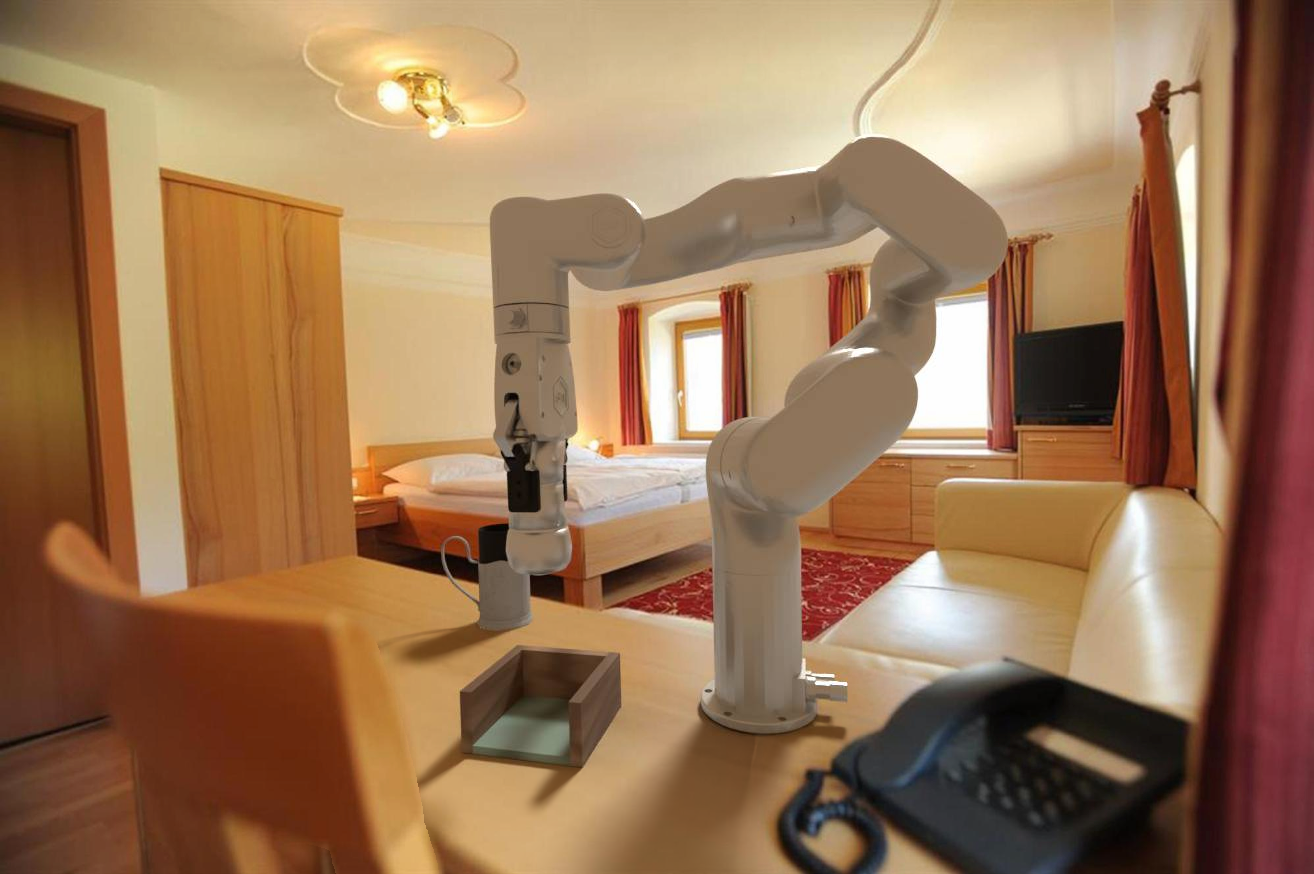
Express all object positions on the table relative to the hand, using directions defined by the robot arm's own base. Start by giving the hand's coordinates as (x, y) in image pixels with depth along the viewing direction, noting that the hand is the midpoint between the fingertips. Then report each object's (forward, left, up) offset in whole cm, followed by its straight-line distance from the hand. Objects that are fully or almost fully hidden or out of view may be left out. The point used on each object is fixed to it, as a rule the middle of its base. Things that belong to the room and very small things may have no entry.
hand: (539, 504), depth 62 cm
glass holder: (+23, -29, -23) cm, 44 cm away
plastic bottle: (0, 0, -7) cm, 7 cm away
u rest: (0, 0, -23) cm, 23 cm away
